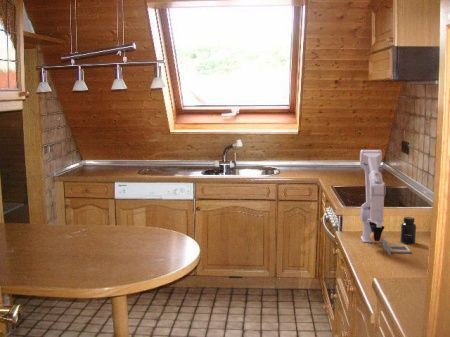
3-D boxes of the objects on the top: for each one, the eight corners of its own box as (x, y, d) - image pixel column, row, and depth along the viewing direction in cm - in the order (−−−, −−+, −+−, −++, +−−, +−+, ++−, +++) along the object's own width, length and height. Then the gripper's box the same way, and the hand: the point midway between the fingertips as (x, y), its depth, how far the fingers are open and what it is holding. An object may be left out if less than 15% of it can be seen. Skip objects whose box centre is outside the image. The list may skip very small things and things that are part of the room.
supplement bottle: (405, 245, 243) (406, 219, 241) (397, 241, 249) (398, 216, 248) (418, 243, 245) (419, 218, 243) (409, 240, 251) (410, 215, 250)
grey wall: (381, 244, 244) (381, 236, 243) (383, 244, 244) (384, 236, 243) (388, 254, 228) (388, 245, 227) (390, 254, 228) (390, 245, 227)
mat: (385, 246, 241) (385, 244, 241) (405, 246, 240) (406, 244, 240) (390, 253, 230) (390, 250, 230) (411, 253, 229) (411, 251, 229)
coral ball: (369, 240, 239) (369, 230, 238) (380, 240, 238) (380, 230, 237) (371, 243, 234) (371, 232, 233) (382, 243, 233) (382, 233, 232)
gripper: (365, 206, 241) (364, 234, 243) (370, 213, 227) (369, 243, 229) (381, 206, 241) (380, 235, 242) (386, 213, 226) (385, 243, 228)
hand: (375, 239), depth 236 cm, fingers closed on coral ball, 5 cm apart
